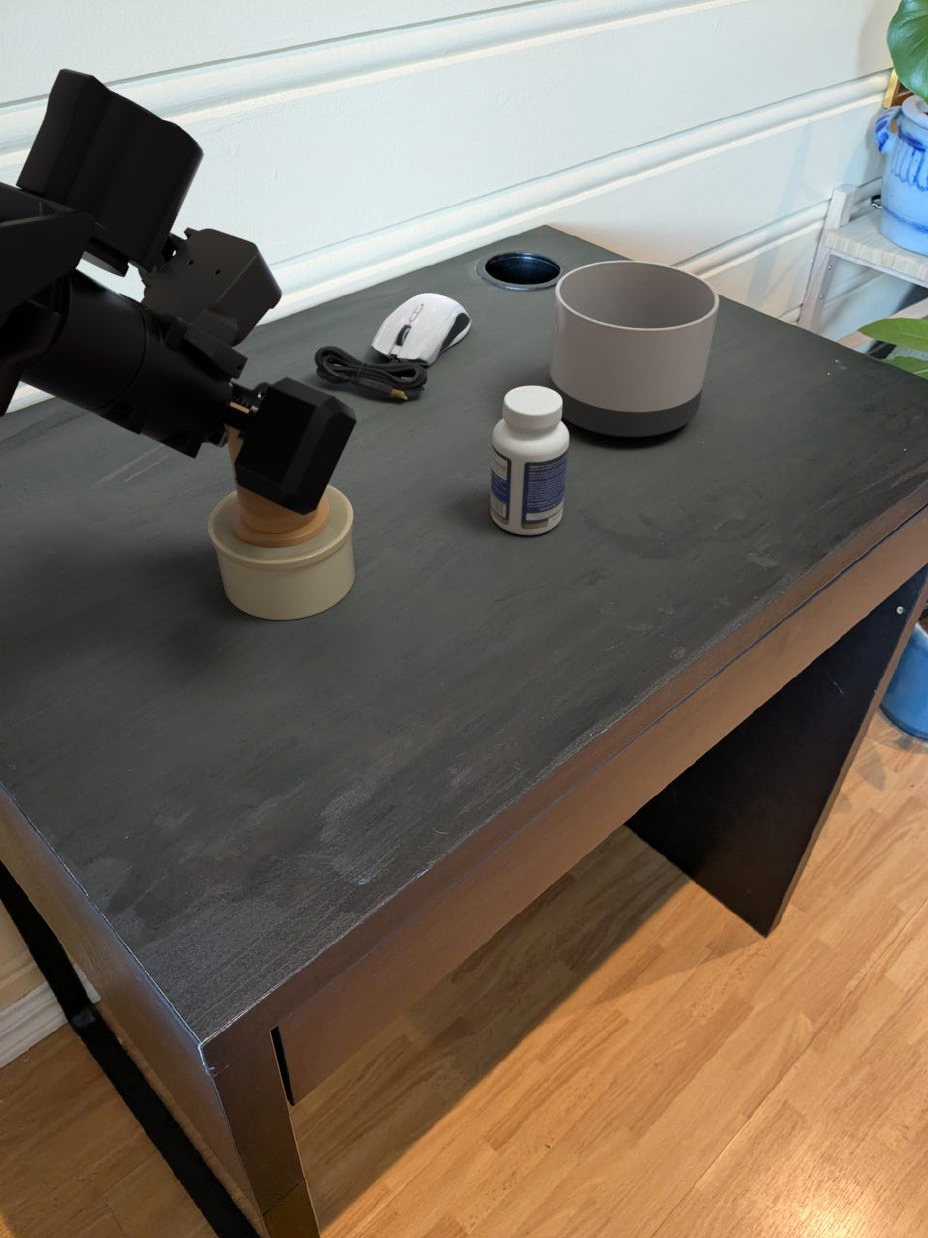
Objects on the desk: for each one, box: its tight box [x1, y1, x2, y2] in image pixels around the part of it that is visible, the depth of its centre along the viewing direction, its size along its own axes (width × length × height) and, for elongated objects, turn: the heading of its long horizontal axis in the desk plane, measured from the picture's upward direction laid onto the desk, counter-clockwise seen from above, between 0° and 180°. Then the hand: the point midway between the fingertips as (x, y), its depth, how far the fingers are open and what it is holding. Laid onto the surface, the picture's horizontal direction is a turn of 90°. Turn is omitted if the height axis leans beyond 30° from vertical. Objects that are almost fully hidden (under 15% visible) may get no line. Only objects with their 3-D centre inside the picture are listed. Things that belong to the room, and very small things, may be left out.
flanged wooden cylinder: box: [224, 402, 330, 548], centre depth 60 cm, size 6×6×8 cm
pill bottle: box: [490, 385, 570, 536], centre depth 68 cm, size 5×5×10 cm
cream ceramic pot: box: [207, 484, 356, 621], centre depth 64 cm, size 9×9×5 cm
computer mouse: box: [313, 292, 472, 401], centre depth 89 cm, size 10×18×4 cm, turn 156°
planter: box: [547, 260, 720, 438], centre depth 79 cm, size 13×13×10 cm
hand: (288, 448), depth 61 cm, fingers closed on flanged wooden cylinder, 5 cm apart
